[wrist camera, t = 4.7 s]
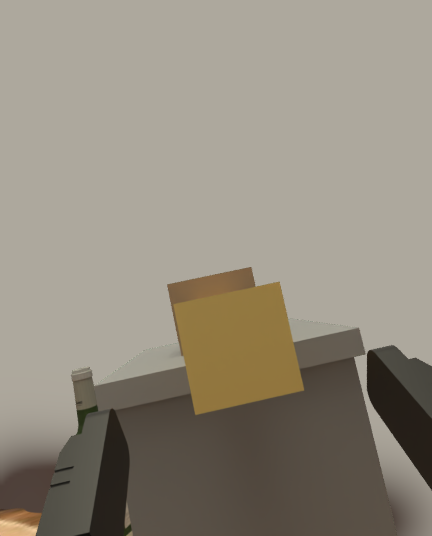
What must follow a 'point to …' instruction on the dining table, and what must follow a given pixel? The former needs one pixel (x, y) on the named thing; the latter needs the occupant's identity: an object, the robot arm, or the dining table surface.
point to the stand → (252, 448)
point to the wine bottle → (87, 405)
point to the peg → (234, 340)
